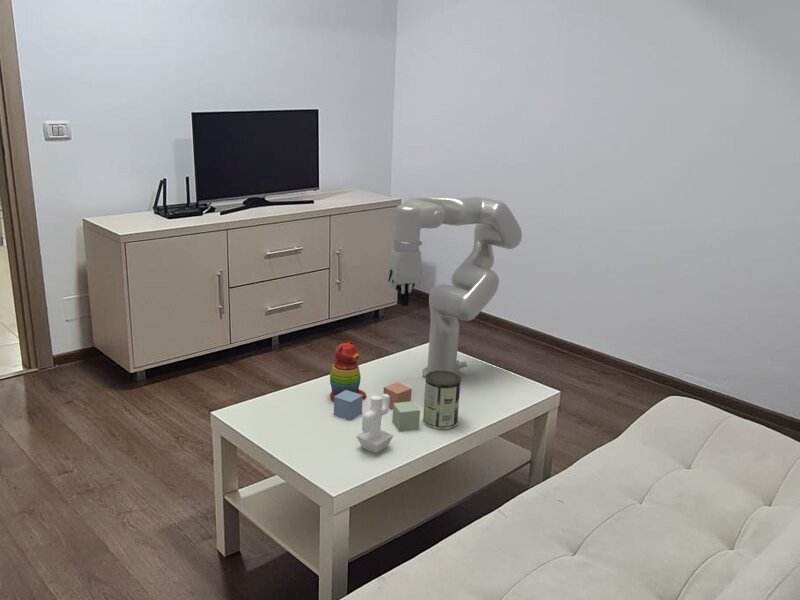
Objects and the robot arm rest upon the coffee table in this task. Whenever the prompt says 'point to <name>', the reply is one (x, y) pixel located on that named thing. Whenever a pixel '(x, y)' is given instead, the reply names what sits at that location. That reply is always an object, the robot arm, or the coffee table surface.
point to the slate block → (348, 405)
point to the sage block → (406, 416)
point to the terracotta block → (398, 393)
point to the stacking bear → (345, 371)
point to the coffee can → (441, 399)
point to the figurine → (375, 425)
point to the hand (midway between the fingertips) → (403, 304)
